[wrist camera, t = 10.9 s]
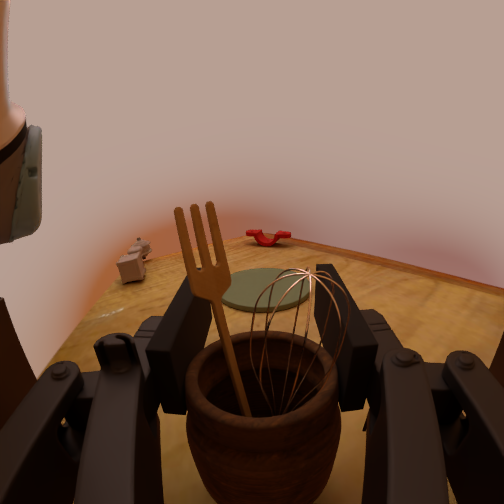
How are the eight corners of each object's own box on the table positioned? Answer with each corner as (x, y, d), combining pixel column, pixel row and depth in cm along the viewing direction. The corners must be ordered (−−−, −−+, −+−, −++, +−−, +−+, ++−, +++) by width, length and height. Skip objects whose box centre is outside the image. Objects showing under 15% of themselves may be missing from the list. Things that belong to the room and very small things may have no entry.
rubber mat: (199, 288, 37) (199, 284, 37) (267, 266, 43) (267, 262, 43) (257, 324, 29) (257, 318, 28) (329, 289, 35) (329, 284, 35)
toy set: (114, 261, 37) (122, 286, 39) (137, 255, 38) (144, 281, 39) (130, 237, 49) (136, 257, 50) (149, 233, 49) (155, 253, 50)
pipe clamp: (288, 235, 50) (288, 247, 51) (292, 231, 53) (292, 243, 53) (243, 232, 53) (243, 244, 53) (249, 229, 55) (249, 240, 56)
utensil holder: (258, 548, 8) (218, 278, 4) (178, 460, 12) (109, 220, 9) (354, 471, 11) (410, 213, 7) (268, 411, 16) (259, 192, 12)
